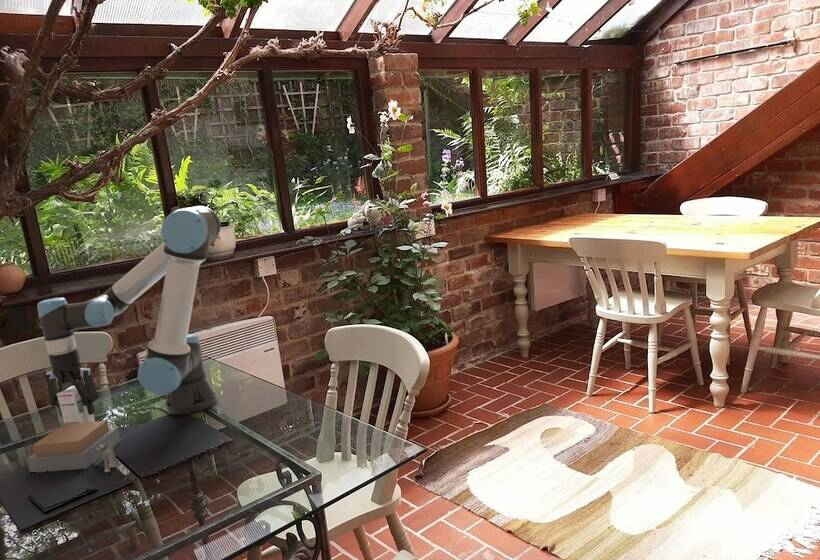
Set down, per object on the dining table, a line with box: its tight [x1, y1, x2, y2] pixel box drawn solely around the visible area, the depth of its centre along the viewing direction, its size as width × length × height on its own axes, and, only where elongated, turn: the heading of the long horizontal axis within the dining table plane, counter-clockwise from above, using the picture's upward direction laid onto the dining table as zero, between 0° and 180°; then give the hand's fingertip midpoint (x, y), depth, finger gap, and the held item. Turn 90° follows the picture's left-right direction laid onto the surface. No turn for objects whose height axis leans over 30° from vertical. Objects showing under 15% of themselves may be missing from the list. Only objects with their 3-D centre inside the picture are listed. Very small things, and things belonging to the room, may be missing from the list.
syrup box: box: [57, 385, 96, 424], centre depth 185 cm, size 6×6×14 cm
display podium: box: [26, 420, 121, 473], centre depth 170 cm, size 16×16×7 cm
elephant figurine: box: [93, 437, 122, 473], centre depth 161 cm, size 10×6×9 cm
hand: (80, 425), depth 185 cm, fingers closed on syrup box, 6 cm apart
